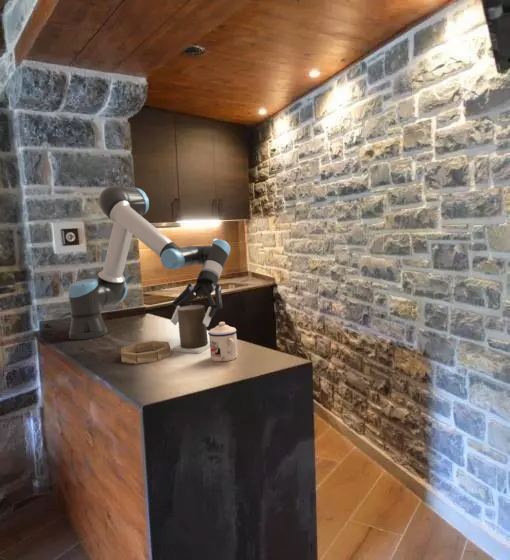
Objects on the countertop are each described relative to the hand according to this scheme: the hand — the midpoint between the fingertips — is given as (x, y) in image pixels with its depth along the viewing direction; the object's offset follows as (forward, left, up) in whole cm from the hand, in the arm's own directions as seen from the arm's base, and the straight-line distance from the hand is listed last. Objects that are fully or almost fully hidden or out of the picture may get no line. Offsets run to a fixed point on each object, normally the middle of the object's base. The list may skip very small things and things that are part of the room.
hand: (188, 323), depth 151 cm
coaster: (0, +2, -9) cm, 9 cm away
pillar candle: (0, +2, -8) cm, 9 cm away
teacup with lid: (+18, -6, -9) cm, 21 cm away
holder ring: (-11, -11, -9) cm, 18 cm away
